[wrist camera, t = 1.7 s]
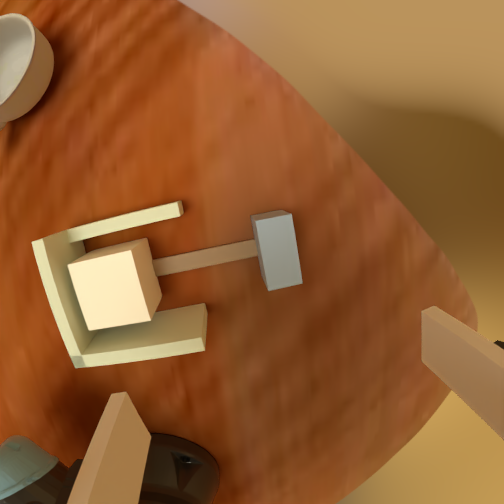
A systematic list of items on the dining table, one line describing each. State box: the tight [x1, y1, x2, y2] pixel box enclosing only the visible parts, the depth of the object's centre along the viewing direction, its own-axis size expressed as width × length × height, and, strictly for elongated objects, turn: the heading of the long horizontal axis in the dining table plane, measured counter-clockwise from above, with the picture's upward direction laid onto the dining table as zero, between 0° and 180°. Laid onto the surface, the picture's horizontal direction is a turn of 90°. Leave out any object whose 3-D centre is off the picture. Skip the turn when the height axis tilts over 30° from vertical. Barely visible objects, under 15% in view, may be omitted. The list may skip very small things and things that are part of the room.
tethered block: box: [68, 210, 303, 331], centre depth 28 cm, size 19×6×6 cm, turn 101°
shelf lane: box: [32, 201, 208, 368], centre depth 27 cm, size 12×11×8 cm
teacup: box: [0, 13, 54, 130], centre depth 21 cm, size 14×11×8 cm
